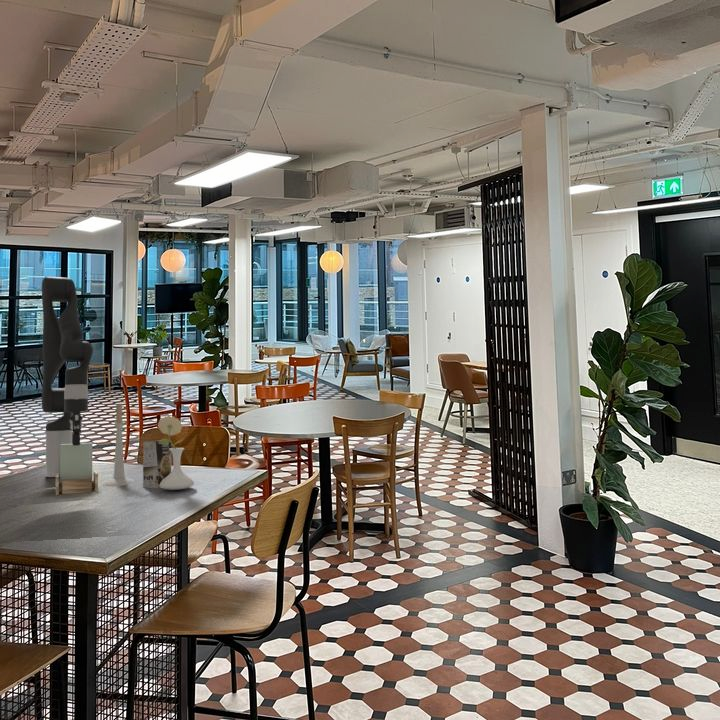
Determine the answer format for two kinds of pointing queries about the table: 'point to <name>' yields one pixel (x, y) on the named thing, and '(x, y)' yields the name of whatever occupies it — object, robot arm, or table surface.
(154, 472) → the coffee box
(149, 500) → the table surface
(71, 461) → the tall sheet
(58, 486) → the offcut rack
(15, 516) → the table surface
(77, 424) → the robot arm
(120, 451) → the candlestick
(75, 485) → the block
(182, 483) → the flower in vase
